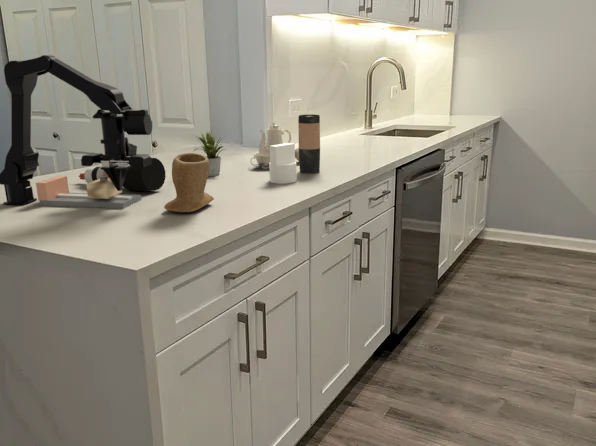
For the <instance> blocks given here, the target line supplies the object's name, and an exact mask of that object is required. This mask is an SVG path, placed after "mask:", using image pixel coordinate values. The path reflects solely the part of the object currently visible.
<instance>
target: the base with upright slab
mask: <svg viewBox="0 0 596 446" xmlns="http://www.w3.org/2000/svg"><path fill="white" fill-rule="evenodd" d="M295 144H296V143H293V142H290V143H288V142H285V143H283V144H278V145H272V146H270V163H269V168H268V169H269V182H270V183H272V184H292V183H295V182H297V180H298V177H297V175H298V174H297V171H298V170H297V162H296V158H295V150H296V148H295V147H296V145H295Z"/></svg>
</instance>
